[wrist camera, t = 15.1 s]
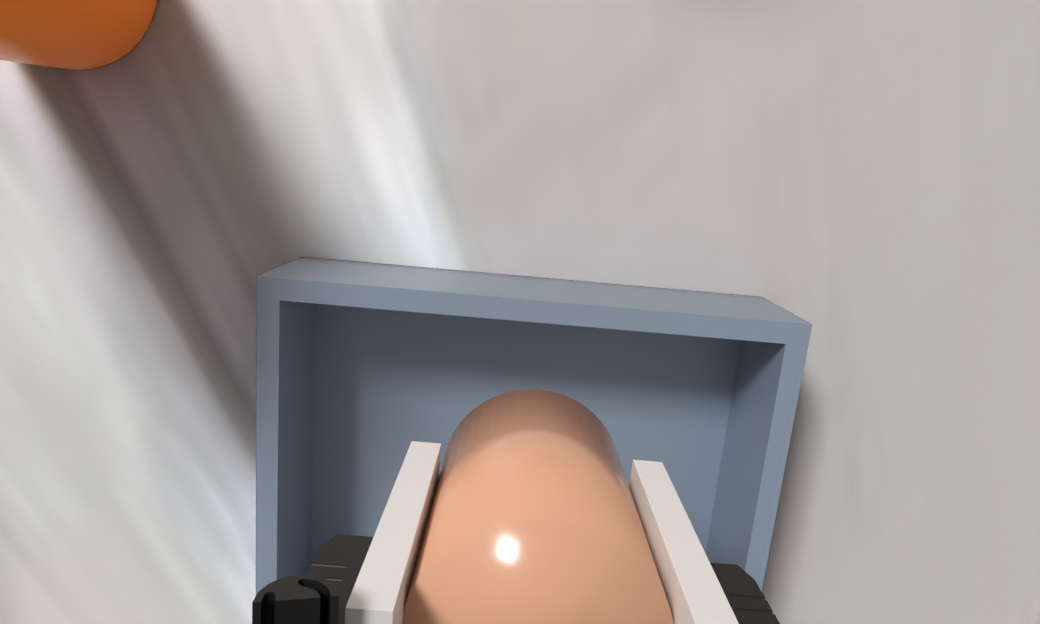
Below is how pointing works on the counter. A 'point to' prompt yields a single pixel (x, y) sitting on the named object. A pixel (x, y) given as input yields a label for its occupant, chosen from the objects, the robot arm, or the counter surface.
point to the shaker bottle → (72, 31)
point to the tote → (508, 367)
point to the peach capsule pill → (534, 524)
